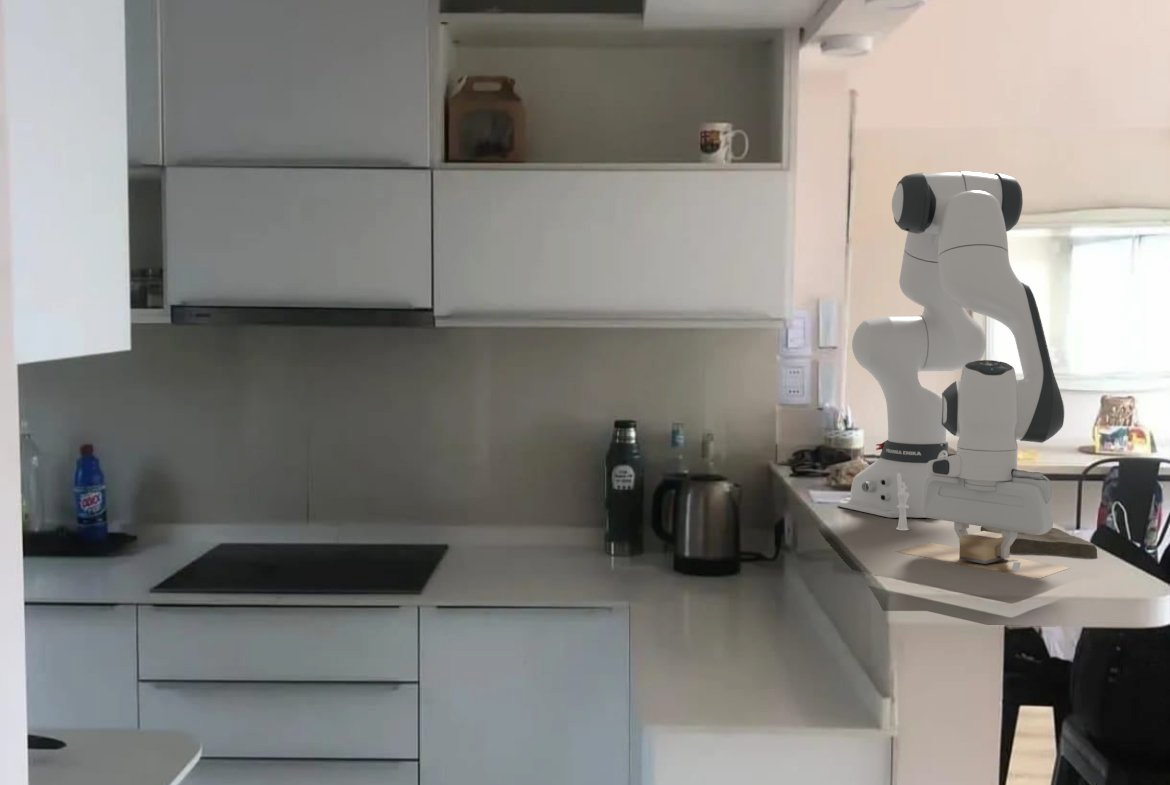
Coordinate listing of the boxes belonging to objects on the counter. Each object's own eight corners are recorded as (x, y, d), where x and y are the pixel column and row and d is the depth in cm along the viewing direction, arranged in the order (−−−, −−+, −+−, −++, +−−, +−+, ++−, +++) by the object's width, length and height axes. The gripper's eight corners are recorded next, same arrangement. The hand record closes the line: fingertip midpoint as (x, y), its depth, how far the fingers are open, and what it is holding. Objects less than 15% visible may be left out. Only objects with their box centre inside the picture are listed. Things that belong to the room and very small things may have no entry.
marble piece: (1100, 569, 172) (1100, 543, 172) (1004, 569, 173) (1005, 542, 172) (1059, 545, 189) (1060, 522, 188) (973, 545, 189) (973, 521, 189)
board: (894, 560, 177) (894, 551, 177) (928, 551, 184) (929, 542, 183) (1038, 588, 159) (1038, 578, 159) (1070, 577, 165) (1070, 567, 165)
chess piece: (905, 534, 197) (906, 479, 197) (922, 539, 193) (923, 483, 192) (882, 536, 196) (883, 480, 195) (899, 541, 191) (900, 485, 190)
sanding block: (959, 559, 170) (959, 536, 169) (983, 552, 174) (983, 530, 174) (985, 563, 166) (986, 541, 166) (1009, 557, 171) (1009, 535, 171)
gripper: (1062, 471, 163) (1059, 562, 164) (939, 458, 179) (938, 541, 180) (1041, 475, 159) (1039, 569, 160) (917, 461, 175) (916, 547, 176)
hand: (984, 554), depth 170 cm, fingers closed on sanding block, 4 cm apart
